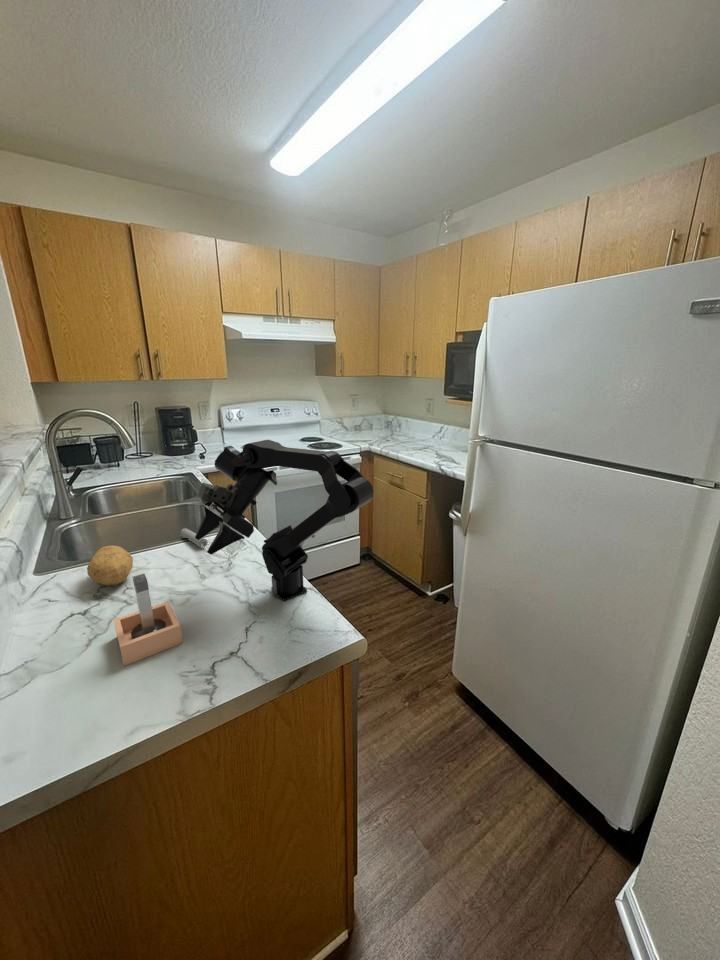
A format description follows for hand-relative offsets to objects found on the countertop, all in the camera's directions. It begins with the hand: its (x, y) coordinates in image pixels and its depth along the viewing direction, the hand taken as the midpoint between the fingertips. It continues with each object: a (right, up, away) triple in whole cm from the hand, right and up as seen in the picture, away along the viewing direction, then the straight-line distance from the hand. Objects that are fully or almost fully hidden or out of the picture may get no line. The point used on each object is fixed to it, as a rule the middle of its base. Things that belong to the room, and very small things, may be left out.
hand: (202, 546), depth 85 cm
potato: (-27, -11, +12) cm, 32 cm away
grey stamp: (-6, -16, -10) cm, 20 cm away
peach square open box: (-6, -17, -10) cm, 20 cm away
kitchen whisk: (-11, -7, +28) cm, 31 cm away
